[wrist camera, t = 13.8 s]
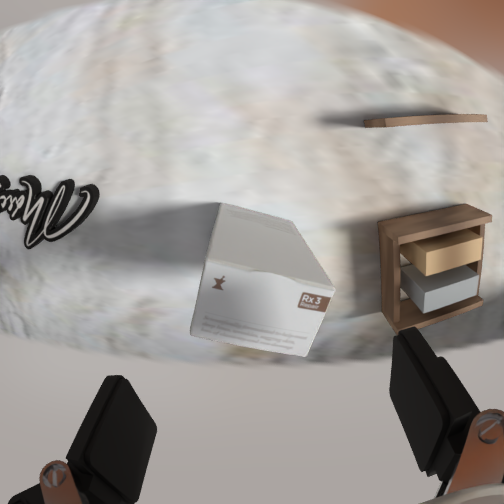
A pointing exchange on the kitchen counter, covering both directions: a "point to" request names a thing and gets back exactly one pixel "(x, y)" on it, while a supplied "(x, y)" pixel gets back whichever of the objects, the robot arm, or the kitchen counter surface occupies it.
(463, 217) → the walnut rack
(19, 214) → the nameplate
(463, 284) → the slate offcut
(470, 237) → the oak offcut
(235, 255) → the skincare box
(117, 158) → the kitchen counter surface
